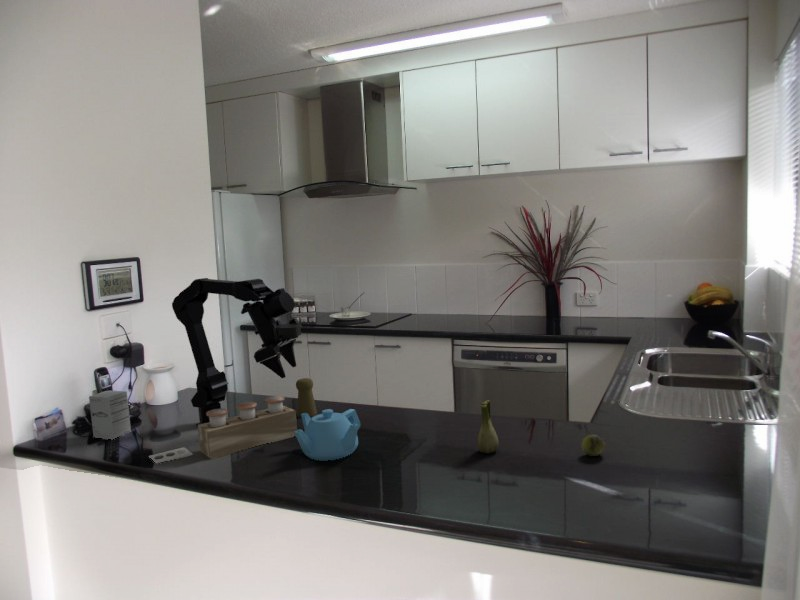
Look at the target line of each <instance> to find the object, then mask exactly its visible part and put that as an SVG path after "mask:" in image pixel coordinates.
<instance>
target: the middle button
mask: <svg viewBox="0 0 800 600" xmlns="http://www.w3.org/2000/svg"><path fill="white" fill-rule="evenodd" d="M257 407H258V403H257V402H256V401H248V402H247V401H246V402H242V403H238V404H236V410H238V411H239V415H240V420H241V421H247V420H251V419H255V418H256V416H255V412H256V408H257Z"/></svg>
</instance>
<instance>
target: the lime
mask: <svg viewBox="0 0 800 600" xmlns="http://www.w3.org/2000/svg"><path fill="white" fill-rule="evenodd" d="M580 445H581V446H580V447H581V448H582V450H583V453H585V454H586V455H587V456H589V457H596V456H597V457H598V456H599V455H601V454H602V453H603V451H604V450H605V448H606V447H605V446H606V443H605V441H604V439H603V438H602V437H601V436H599V435H597V434H589V435H587V436H586V437H584V438H583V439H582V440H581V444H580Z"/></svg>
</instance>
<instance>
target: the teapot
mask: <svg viewBox="0 0 800 600" xmlns="http://www.w3.org/2000/svg"><path fill="white" fill-rule="evenodd" d="M356 411H357V410H356V409H352V408H349V409H347V410H345V411H344V412H342V413H341V412H334V410H333V409H331V408H328V409H323V410H321V413H320V414H316V415H314V416H311V417H310V416H309V415H308V414H307V413H303V414H301V417H300V418H301V421H302V425H303V429H304V431H303V429H300V428H299V429H297V431H295V432H294V433H295V435H296V436H295V437H296V439H297V441H298V443H299V446H300V447H301V448H300V449H301V450H302V452H303V453H304V455H305V456H307V457H308V458H309V459H310V458H311V459H310V460H313V459H314V461H318V460H319V462H320V461H321V462H326V461H327V462H328V460H331V461H336V459H337V460H341V459H344V458H347V457H349V456H351V455H352V454H353V453H354V452H355V451H356V449H357V448H358V445H359V437H358V430H359V429H360V427H361V426H362V425H361V421H360V419H359V417H358V414H357V412H356ZM350 454H351V455H350ZM348 455H349V456H348ZM346 456H347V457H346ZM343 457H344V458H343ZM340 458H341V459H340Z"/></svg>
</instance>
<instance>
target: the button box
mask: <svg viewBox="0 0 800 600" xmlns="http://www.w3.org/2000/svg"><path fill="white" fill-rule="evenodd" d="M255 416H256V418H255V419H251V420H247V421H241V420H240V414H239V415H235V416H230V417H226V426H222V427H217V428H213V429H212V428H211V427H210V422H209V423H204V424H200V425H198V426H197V432H198V440H199V451H200V453H202V454H204V455H205V456H206V457H208V458H209V459H211V460H212V459H216V458H220V457H223V456H228V455H231V454H235V453H238V451H239V452H242V451H241V450H243V451H246V450H249V449H248V448H250V449H253V448H252V447H254V448H256V447H255V446H258V447H260V446H259V445H261V446H263V445H262V444H265V445H267V444H266V443H269V444H272V443H275V442H280V441H283V440H287V439H290V438H291V439H292V438H294V436H295V437H296V435H295V433H294V432H295V431H297V430H298V421H297V411H296V410H295V409H293V408H290V407H288V406H287V405H284V404H283V412H280V413H276V414H272V415H271V414H269V413H268V408H265V409H261V410H255ZM271 442H272V443H271ZM245 449H246V450H245Z"/></svg>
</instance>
